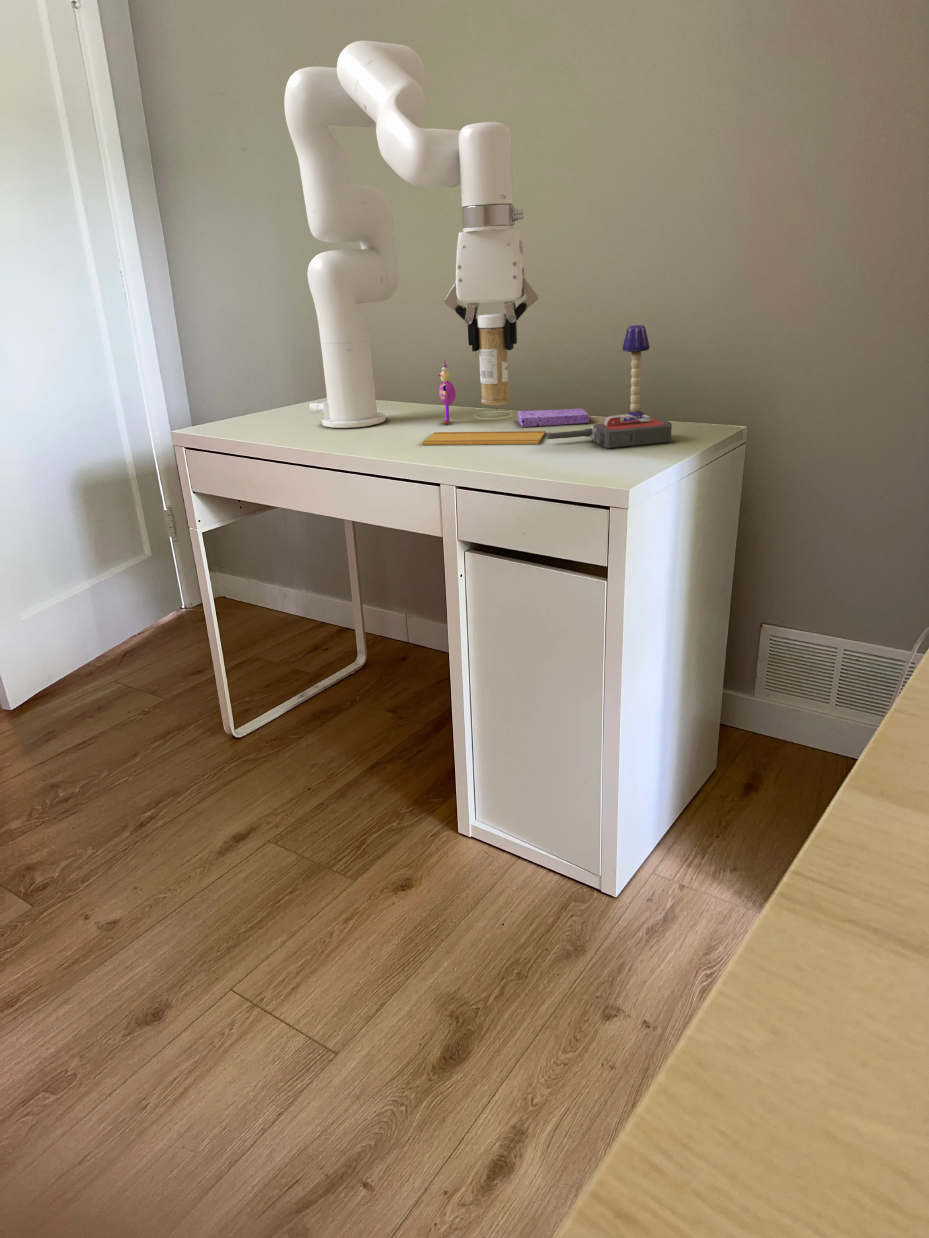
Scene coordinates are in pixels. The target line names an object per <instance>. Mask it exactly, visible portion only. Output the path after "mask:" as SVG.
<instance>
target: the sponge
mask: <svg viewBox="0 0 929 1238" xmlns="http://www.w3.org/2000/svg"><path fill="white" fill-rule="evenodd" d="M589 419H590V414H589V413H588V412H587V411H585V410H584V409H583V408H565V409H546V410H542V409H541V410H539V409H538V410H517V420H518V424H519V425H520V427H522V428H525V427H528V428H529V427H543V426H544V427H545V426H561V425H576V424H588V423H590V421H589Z"/></svg>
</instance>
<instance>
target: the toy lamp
mask: <svg viewBox="0 0 929 1238" xmlns="http://www.w3.org/2000/svg"><path fill="white" fill-rule="evenodd" d="M649 350H650V343H649V337H648V334H647V328H646V326H645V325H642V324H636V325H635V324H634V325H629V326H627V329H626V333H625V337H624V340H623V344H622V351H623V352H627V353H630V357H631V362H630V366H631V370H630V376H631V379H630V385H631V387H630V406H629V410H630V411H629V412H627V413H626V414H629V415H632V416H634V417H636V418H637V419H643V418H644V417H643V415H646V413H644V412H643V411H640V410H641V404H640V402H641V395H640V394H641V392H642V391H641V390H642V388H641V384H642V379H641V375H642V369H641V367H642V360H641V358H642V352H646V351H649ZM633 420H635V419H633V418H623V421H633ZM623 421H622V422H623ZM636 421H637V420H636Z"/></svg>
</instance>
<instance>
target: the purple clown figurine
mask: <svg viewBox="0 0 929 1238" xmlns="http://www.w3.org/2000/svg"><path fill="white" fill-rule="evenodd" d="M447 366H448V365H447V364H446V360H445V358H444V360H443V364H442V367H441V372H439V374H438V377H440V381H441V383H440V385H439V387H438V397H439V399H440V402H441V403H442V404H443V405H444V410H445V411H444V413H445V417H444V420H443V421H442V424H443V425H448V424H449V423H450V406H451V405H453V403H454V402H455V400H456V396H457V393H456V392H457V391H456V388H455V385H454V384H453V382H452V381H450V380H449V379H450V372H449V369H448V367H447Z"/></svg>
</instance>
